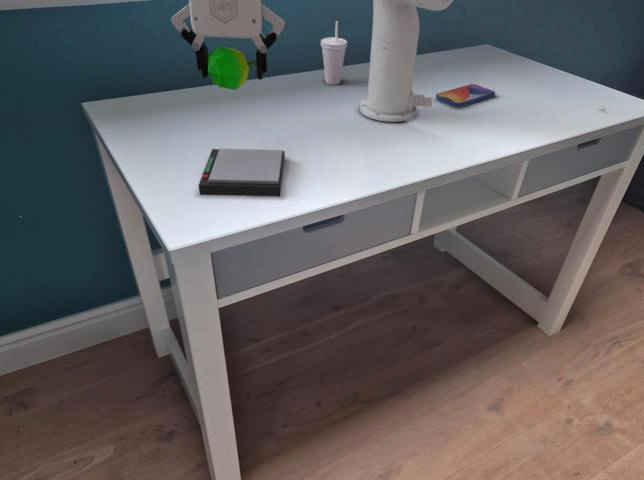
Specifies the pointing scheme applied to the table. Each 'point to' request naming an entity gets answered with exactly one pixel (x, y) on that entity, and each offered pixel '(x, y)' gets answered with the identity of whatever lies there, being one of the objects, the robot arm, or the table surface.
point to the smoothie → (333, 57)
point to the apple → (228, 67)
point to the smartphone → (465, 95)
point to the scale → (243, 172)
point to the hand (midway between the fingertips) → (233, 75)
